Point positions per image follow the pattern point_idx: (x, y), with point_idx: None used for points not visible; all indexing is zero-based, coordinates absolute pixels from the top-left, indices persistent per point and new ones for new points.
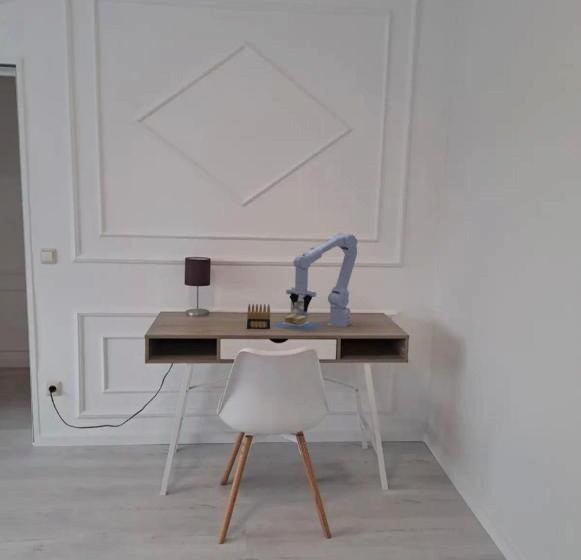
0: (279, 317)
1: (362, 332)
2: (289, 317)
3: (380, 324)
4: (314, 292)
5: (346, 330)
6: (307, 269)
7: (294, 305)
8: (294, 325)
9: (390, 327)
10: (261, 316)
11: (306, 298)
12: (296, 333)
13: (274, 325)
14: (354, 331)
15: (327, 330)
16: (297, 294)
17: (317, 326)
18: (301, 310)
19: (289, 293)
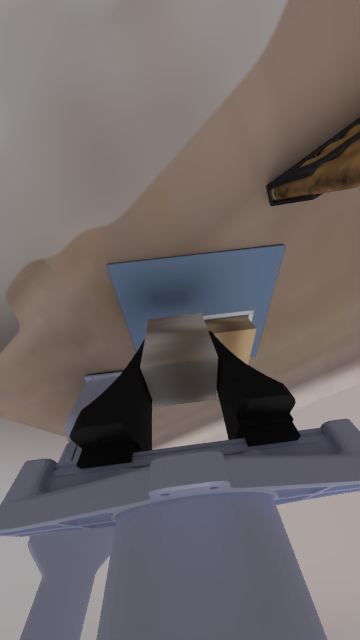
0: (282, 362)
1: (13, 367)
2: (238, 334)
3: (65, 425)
4: (22, 533)
5: (58, 360)
6: None
7: (209, 340)
8: (203, 311)
9: (30, 421)
10: None
11: (88, 415)
12: (134, 216)
13: (269, 265)
14: (36, 364)
15: (92, 331)
16: (226, 445)
17: (139, 342)
18: (156, 329)
19: (316, 435)
